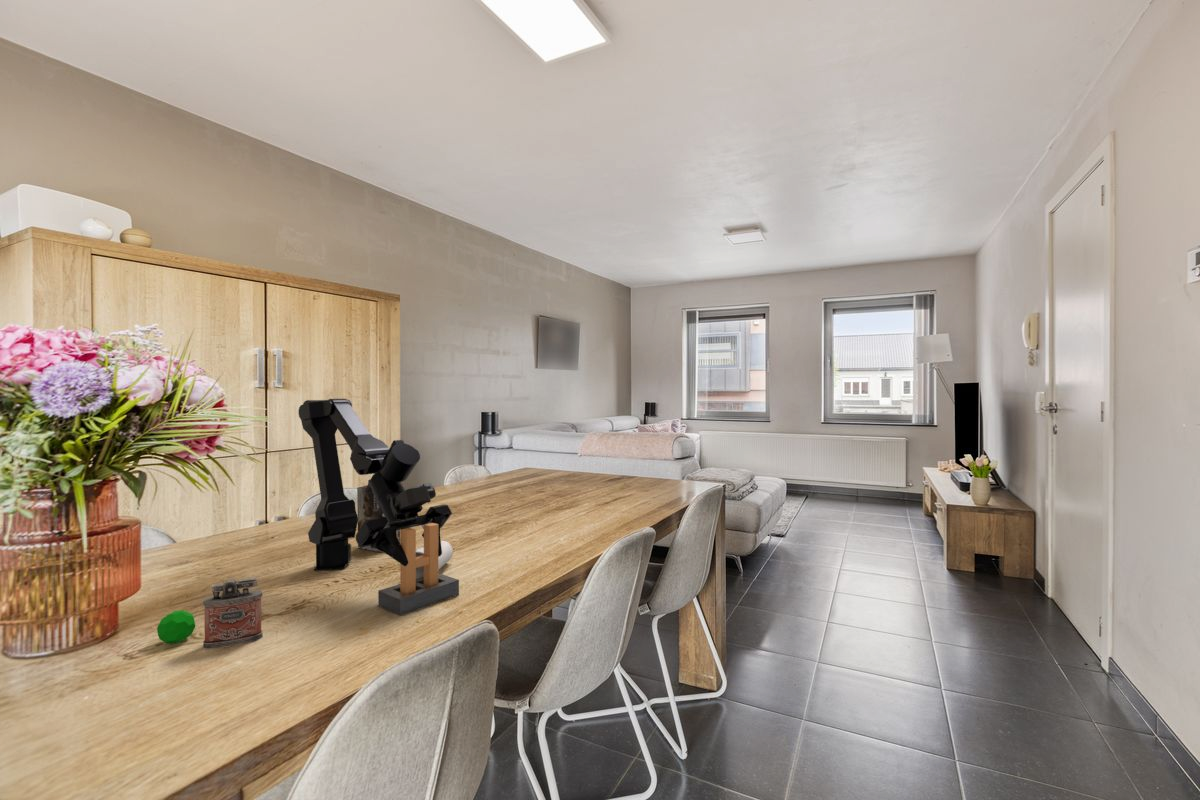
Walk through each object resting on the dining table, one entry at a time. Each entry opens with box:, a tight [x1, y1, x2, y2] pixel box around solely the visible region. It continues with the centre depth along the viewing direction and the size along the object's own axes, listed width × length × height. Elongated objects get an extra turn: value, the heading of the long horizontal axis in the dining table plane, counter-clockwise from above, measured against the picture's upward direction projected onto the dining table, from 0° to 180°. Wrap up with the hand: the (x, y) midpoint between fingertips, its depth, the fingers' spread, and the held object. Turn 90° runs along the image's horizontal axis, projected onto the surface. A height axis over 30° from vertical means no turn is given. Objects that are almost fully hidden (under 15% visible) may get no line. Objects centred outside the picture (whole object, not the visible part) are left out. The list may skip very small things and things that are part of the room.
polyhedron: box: [156, 610, 196, 645], centre depth 89 cm, size 5×5×5 cm
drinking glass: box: [416, 540, 454, 579], centre depth 123 cm, size 7×7×15 cm
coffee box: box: [356, 484, 400, 553], centre depth 143 cm, size 9×6×16 cm
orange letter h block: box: [399, 523, 439, 594], centre depth 107 cm, size 7×2×13 cm, turn 143°
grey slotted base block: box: [377, 572, 460, 617], centre depth 107 cm, size 13×7×3 cm, turn 143°
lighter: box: [202, 577, 264, 650], centre depth 89 cm, size 8×3×10 cm, turn 117°
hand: (424, 559), depth 106 cm, fingers closed on orange letter h block, 7 cm apart
